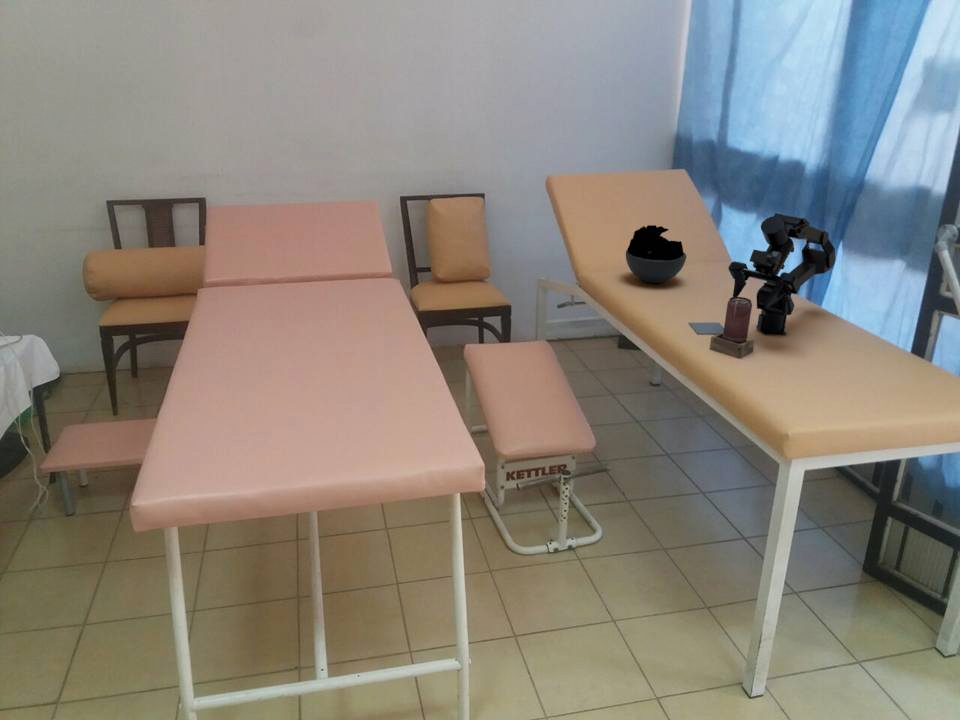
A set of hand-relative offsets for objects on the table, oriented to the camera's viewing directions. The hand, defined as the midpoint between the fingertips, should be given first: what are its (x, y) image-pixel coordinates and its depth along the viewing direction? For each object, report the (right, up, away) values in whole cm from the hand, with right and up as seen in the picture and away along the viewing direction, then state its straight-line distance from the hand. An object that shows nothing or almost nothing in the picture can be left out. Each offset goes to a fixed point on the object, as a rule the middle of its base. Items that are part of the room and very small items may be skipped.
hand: (749, 303), depth 208 cm
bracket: (-4, -12, +1) cm, 13 cm away
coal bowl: (-13, +11, +58) cm, 61 cm away
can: (-4, -13, +1) cm, 13 cm away
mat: (-6, -6, +16) cm, 18 cm away
